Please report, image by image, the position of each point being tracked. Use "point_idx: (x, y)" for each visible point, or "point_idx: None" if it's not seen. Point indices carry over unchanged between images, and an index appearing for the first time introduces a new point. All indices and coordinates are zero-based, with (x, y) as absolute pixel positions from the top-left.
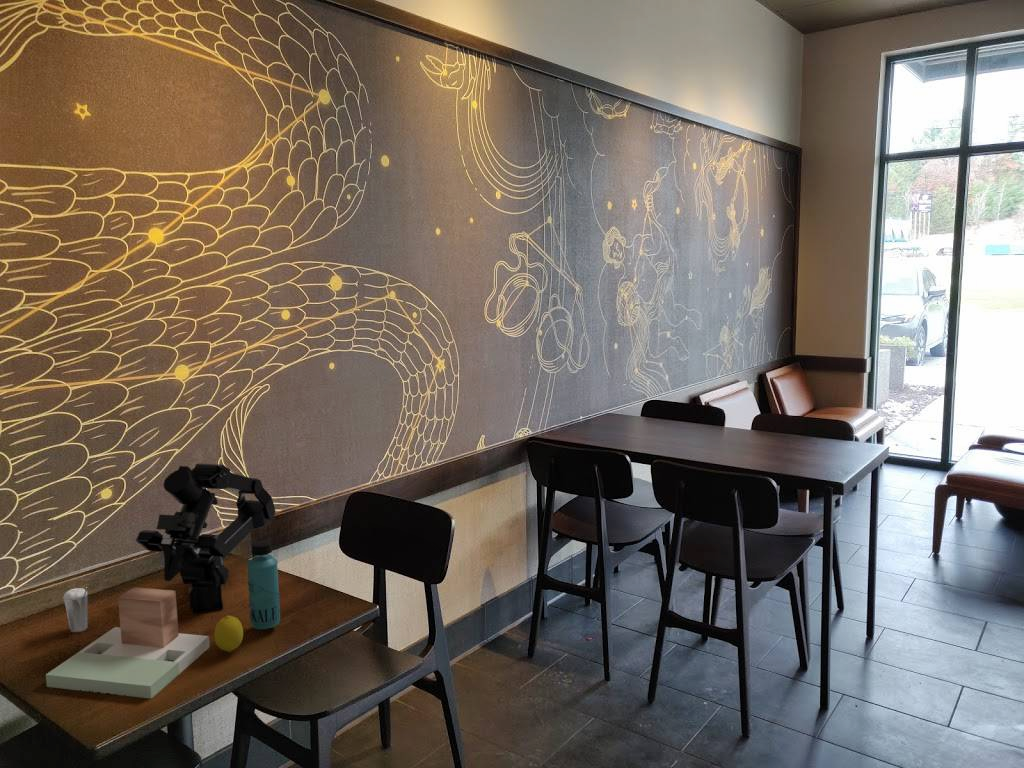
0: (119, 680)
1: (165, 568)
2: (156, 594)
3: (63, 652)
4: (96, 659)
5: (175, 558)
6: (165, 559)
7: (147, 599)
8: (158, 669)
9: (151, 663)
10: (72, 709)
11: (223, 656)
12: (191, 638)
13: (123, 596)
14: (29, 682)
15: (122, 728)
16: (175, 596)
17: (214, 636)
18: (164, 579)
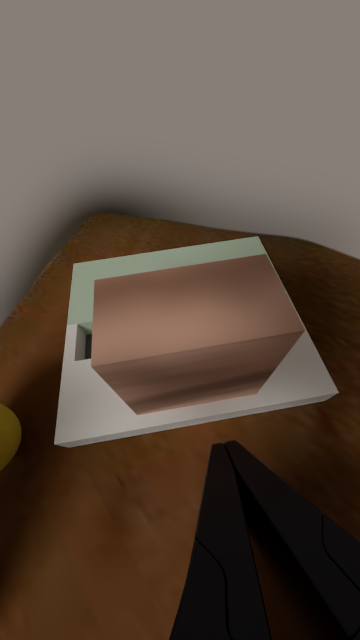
0: (133, 259)
1: (273, 481)
2: (149, 313)
3: (351, 320)
4: None
5: (234, 609)
6: (357, 551)
7: (151, 276)
8: (90, 297)
9: None
10: (169, 236)
11: None
12: (94, 415)
13: (256, 264)
14: (289, 251)
15: (80, 234)
16: (100, 374)
17: (8, 413)
18: (232, 441)
